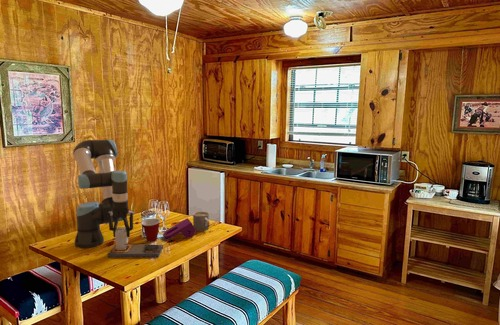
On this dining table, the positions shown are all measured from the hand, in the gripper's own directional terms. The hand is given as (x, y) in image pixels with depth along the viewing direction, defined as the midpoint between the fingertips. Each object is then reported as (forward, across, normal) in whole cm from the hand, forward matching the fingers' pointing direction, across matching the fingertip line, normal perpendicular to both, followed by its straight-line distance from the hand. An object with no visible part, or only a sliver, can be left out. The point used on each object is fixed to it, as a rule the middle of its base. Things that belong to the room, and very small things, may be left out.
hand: (121, 242), depth 183 cm
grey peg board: (+6, +8, 0) cm, 9 cm away
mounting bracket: (+6, +26, +24) cm, 36 cm away
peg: (+4, 0, 0) cm, 4 cm away
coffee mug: (+6, +40, +36) cm, 54 cm away
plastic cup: (+6, +12, +17) cm, 21 cm away
